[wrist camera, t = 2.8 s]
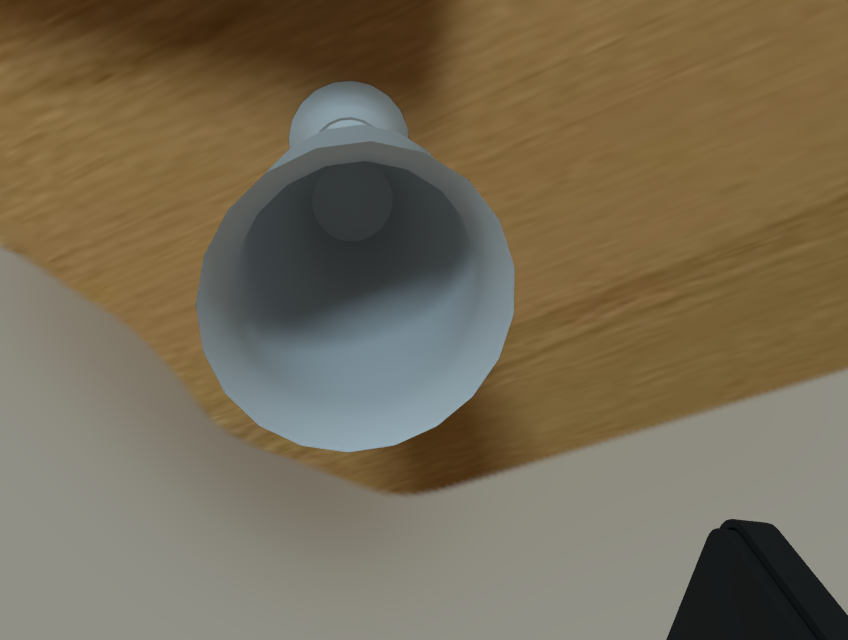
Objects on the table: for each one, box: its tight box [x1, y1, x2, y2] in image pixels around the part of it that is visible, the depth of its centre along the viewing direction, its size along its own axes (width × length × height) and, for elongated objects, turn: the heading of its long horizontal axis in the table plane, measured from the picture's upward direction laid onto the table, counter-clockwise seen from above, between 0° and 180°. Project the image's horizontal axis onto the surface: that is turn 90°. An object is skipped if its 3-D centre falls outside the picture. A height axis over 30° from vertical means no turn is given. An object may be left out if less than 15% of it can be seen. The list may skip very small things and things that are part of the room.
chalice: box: [196, 81, 514, 452], centre depth 25 cm, size 7×7×18 cm
